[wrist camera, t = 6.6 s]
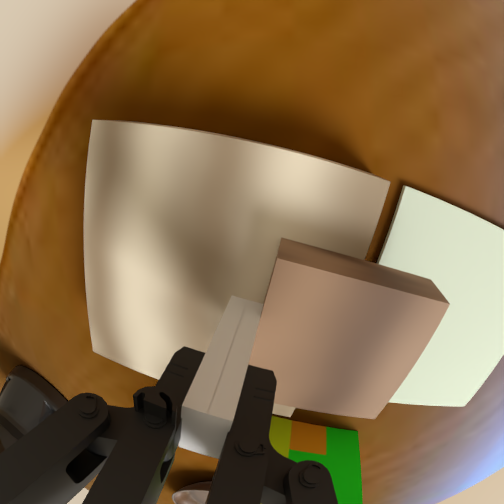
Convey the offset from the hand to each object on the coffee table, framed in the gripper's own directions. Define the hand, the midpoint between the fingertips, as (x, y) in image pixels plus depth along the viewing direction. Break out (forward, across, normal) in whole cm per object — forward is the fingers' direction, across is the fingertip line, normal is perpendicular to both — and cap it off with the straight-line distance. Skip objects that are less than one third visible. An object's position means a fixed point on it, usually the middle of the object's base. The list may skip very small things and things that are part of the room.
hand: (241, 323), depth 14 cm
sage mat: (+5, +15, 0) cm, 16 cm away
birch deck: (+5, -3, 0) cm, 6 cm away
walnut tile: (+2, +5, 0) cm, 5 cm away
